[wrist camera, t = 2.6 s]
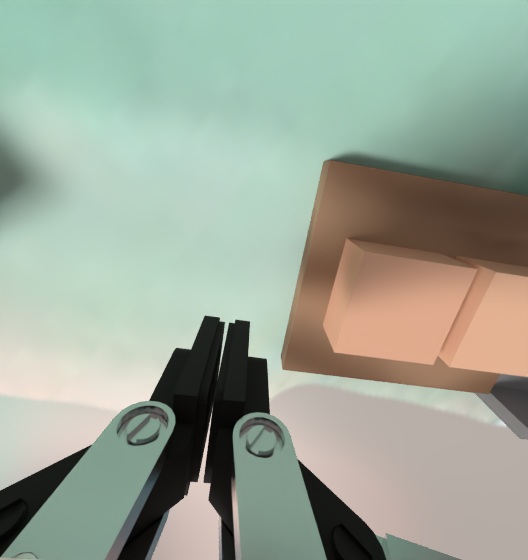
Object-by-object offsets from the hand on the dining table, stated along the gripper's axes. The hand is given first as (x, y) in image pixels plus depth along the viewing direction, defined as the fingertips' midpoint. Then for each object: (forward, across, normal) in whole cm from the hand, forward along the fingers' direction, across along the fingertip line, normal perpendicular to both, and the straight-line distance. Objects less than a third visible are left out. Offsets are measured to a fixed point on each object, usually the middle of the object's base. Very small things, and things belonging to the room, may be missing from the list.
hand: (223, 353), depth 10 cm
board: (+9, -12, -1) cm, 15 cm away
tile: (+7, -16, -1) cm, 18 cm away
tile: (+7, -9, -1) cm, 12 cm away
